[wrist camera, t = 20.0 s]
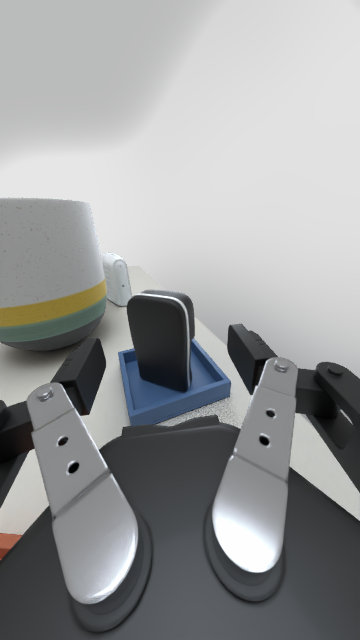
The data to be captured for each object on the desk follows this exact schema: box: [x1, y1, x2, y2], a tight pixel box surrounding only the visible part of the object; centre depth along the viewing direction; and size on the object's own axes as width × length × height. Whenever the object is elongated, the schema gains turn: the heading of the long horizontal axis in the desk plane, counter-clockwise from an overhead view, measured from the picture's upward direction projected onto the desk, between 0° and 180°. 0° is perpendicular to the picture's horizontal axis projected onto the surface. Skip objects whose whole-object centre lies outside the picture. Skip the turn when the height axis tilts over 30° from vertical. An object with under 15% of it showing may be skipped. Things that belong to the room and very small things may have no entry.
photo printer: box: [101, 253, 132, 306], centre depth 50 cm, size 10×4×12 cm, turn 40°
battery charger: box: [127, 290, 195, 392], centre depth 23 cm, size 7×4×11 cm, turn 65°
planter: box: [0, 198, 107, 351], centre depth 32 cm, size 20×20×21 cm
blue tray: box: [118, 338, 231, 426], centre depth 25 cm, size 11×11×2 cm
